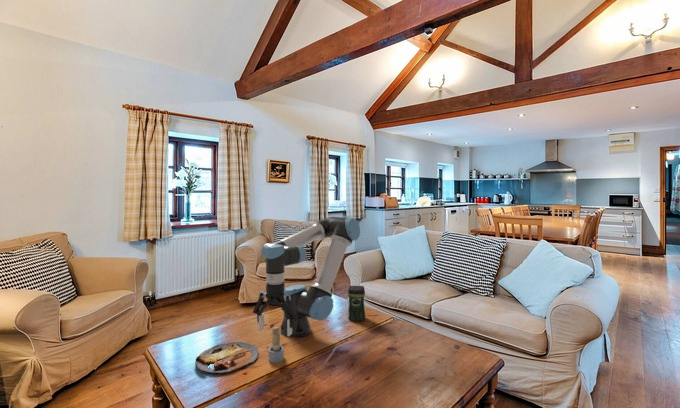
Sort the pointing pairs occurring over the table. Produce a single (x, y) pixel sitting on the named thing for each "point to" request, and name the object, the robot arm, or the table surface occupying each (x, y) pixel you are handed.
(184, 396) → the table surface
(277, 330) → the pestle
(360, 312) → the coffee jar
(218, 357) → the food plate
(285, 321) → the robot arm
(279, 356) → the cup
